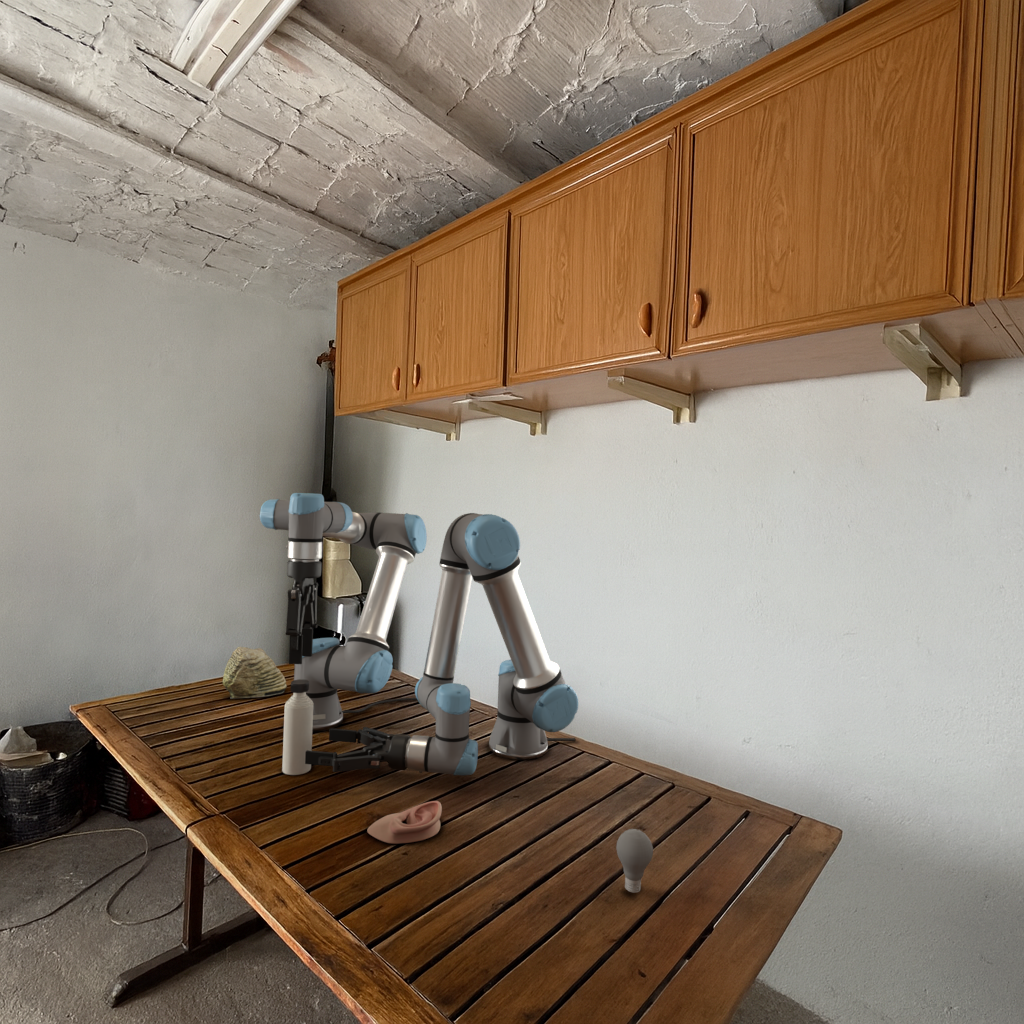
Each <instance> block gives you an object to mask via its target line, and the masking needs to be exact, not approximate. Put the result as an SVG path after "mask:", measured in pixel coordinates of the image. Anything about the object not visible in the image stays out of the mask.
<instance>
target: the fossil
mask: <svg viewBox="0 0 1024 1024" xmlns="http://www.w3.org/2000/svg"><path fill="white" fill-rule="evenodd" d="M222 676H223V677H222V685H223V687H224V688H225V690H226V691H228V693H229V698H230V699H250V698H264V697H271V696H275V695H281V694H284V693H285V691H286V689H287V687H288V686H287V680H286V678H285V676H284V674H283V673H282V672H281V669H279V668H278V667H277V665H276V663H275V662H274V660H273V659H272V658H271V657H270V656H269V655H268V654H267V653H266V652H265V650H264V649H263V648H260V647H258V648H251V647H247V646H246V647H245V646H238V647H237V648H236V649H235V650H233V651H232V653H231V656H230V657H229V659H228V660H227V663H226V666H225V668H224V671H223V675H222Z"/></svg>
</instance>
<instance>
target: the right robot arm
mask: <svg viewBox="0 0 1024 1024" xmlns="http://www.w3.org/2000/svg"><path fill="white" fill-rule="evenodd" d="M441 547H442V548H441V552H440V558H439V567H440V569H441V570H442V571H441V576H440V581H439V587H438V592H437V597H436V603H435V604H436V605H435V609H434V614H433V619H432V624H431V631H430V636H429V641H428V648H427V652H426V656H425V657H426V658H425V663H424V669H423V674H422V676H421V678H419V679H418V681H417V682H416V684H415V686H414V695H415V698H417V700H416V701H418V704H420V706H421V707H422V708H423V709H425V710H426V711H427V712H428V713H429V714H430V715H431V716H432V717H433V718H434V719H435V731H434V734H435V736H430V735H417V734H413V735H412V736H411V735H409V734H399V733H395V734H393V733H387V732H384V731H381V730H377V729H374V728H371V727H368V726H364V727H363V726H362V729H343V728H330V729H329V730H328V741H330V742H341V743H352V744H353V743H354V744H357V745H359V744H362V745H364V747H363V748H362V749H360V750H354V751H349V752H343V753H339V754H338V752H337V751H334V752H332V751H320V750H319V751H318V750H312V751H309V750H307V751H306V753H305V764H311V766H312V765H315V766H325V767H332V772H333V773H341V772H349V771H357V770H367V769H372V770H374V769H375V770H379V769H380V768H381V763H387V765H388V767H389V769H390V770H396V771H406V770H407V771H409V772H418V773H419V774H422V773H432V774H433V773H435V774H444V775H450V776H451V775H452V776H470V775H473V774H474V773H475V772H476V770H477V764H478V758H479V757H478V756H479V743H478V741H477V740H475V739H471V738H470V717H471V716H470V715H471V706H472V705H471V704H472V701H471V690H470V688H469V687H468V686H467V685H465V684H461V683H457V682H454V678H455V673H456V668H457V663H458V662H457V661H458V657H459V652H460V646H461V640H462V636H463V628H464V624H465V619H466V614H467V608H468V603H469V598H470V593H471V587H472V582H475V583H478V584H479V585H481V586H482V588H483V590H484V593H485V596H486V598H487V601H488V603H489V606H490V608H491V611H492V613H493V617H494V619H495V621H496V624H497V627H498V630H499V632H500V635H501V637H502V640H503V643H504V645H505V648H506V650H507V653H508V655H509V658H510V659H505V660H503V661H501V662H500V664H499V670H498V674H497V676H498V684H497V685H498V687H497V712H496V716H497V717H496V720H495V723H494V725H493V727H492V731H491V734H490V736H489V740H488V749H489V751H490V752H491V753H493V754H495V755H496V756H498V757H501V758H504V759H509V760H521V761H525V760H526V761H527V760H533V759H539V758H540V757H543V756H545V755H546V754H547V752H548V747H549V744H548V743H549V742H576V738H575V737H547V735H546V732H548V733H557V732H560V731H562V730H564V729H566V728H567V727H569V726H570V724H571V723H572V722H573V721H574V719H575V716H576V714H577V713H578V709H579V697H578V694H577V692H576V690H575V689H574V688H573V687H572V686H571V685H569V684H567V683H566V681H565V679H564V675H563V673H562V670H561V667H560V666H559V664H558V663H557V662H555V661H553V660H551V659H550V657H549V654H548V651H547V649H546V646H545V642H544V640H543V638H542V635H541V633H540V632H541V631H540V630H539V626H538V624H537V622H536V618H535V615H534V613H533V611H532V607H531V605H530V602H529V600H528V597H527V595H526V592H525V589H524V587H523V584H522V581H521V579H520V575H519V573H518V571H519V569H520V567H521V565H522V562H521V559H520V556H519V552H520V549H521V540H520V535H519V532H518V531H517V528H516V527H515V526H514V525H513V524H512V523H511V522H510V521H509V520H507V519H506V518H503V517H501V516H499V515H496V514H492V513H488V514H487V513H485V514H481V513H475V512H470V513H469V512H468V513H463V514H461V515H459V516H457V517H456V518H455V519H454V520H453V521H452V522H451V523H450V525H449V526H448V528H447V530H446V532H445V536H444V539H443V543H442V546H441Z"/></svg>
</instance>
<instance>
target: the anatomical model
mask: <svg viewBox="0 0 1024 1024" xmlns="http://www.w3.org/2000/svg"><path fill="white" fill-rule="evenodd" d="M442 812H443V807H442V804H441V802H440V801H438V800H431V801H426V802H424V803H421V804H418V805H415V806H412V807H410V808H408V809H405V810H403V811H401V812H397V813H391V814H387V815H385V816H383V817H381V818H379V819H377V820H376V821H374V822H373V823H372V824H371V825H369V826H368V828H367V831H366V832H367V833H368V834H369V835H370V836H372V837H373V838H375V839H377V840H379V841H381V842H384V843H387V844H394V845H395V844H408V843H414V842H420V841H424V840H426V839H429V838H432V837H434V836H436V835H437V834H438V833H439V831H440V829H441V820H440V819H441V816H442Z"/></svg>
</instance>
